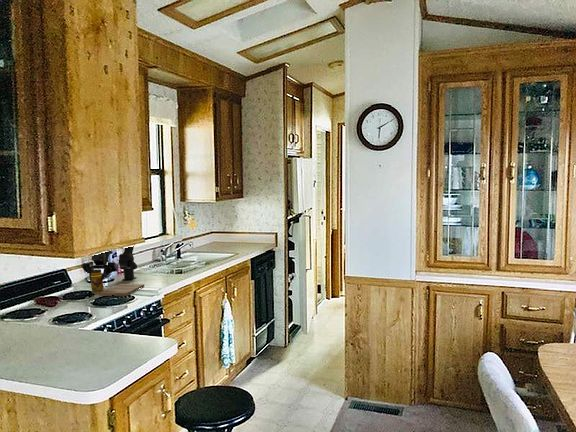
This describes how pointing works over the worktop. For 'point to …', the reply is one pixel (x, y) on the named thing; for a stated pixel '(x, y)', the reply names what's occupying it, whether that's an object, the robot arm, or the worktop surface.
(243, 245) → the worktop surface
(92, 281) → the yellow black cylinder
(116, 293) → the walnut board
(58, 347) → the worktop surface
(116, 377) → the worktop surface
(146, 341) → the worktop surface
